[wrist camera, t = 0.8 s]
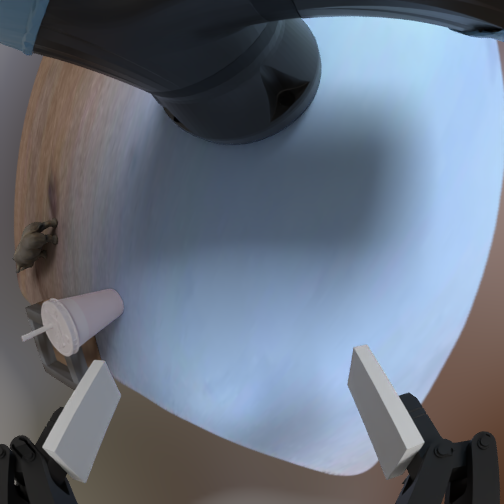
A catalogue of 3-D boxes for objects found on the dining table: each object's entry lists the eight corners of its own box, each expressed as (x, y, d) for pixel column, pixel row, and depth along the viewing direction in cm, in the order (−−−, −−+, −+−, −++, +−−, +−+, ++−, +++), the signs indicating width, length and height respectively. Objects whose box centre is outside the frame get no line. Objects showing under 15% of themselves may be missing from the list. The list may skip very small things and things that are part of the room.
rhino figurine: (29, 255, 38) (4, 262, 33) (55, 212, 33) (23, 216, 28) (37, 275, 38) (11, 283, 33) (63, 236, 33) (31, 242, 28)
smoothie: (113, 268, 31) (16, 302, 18) (139, 315, 31) (48, 367, 18) (91, 291, 33) (7, 324, 20) (114, 332, 33) (35, 378, 20)
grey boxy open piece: (49, 298, 38) (25, 307, 33) (88, 309, 34) (60, 322, 29) (66, 359, 40) (45, 371, 35) (107, 379, 36) (84, 396, 31)
